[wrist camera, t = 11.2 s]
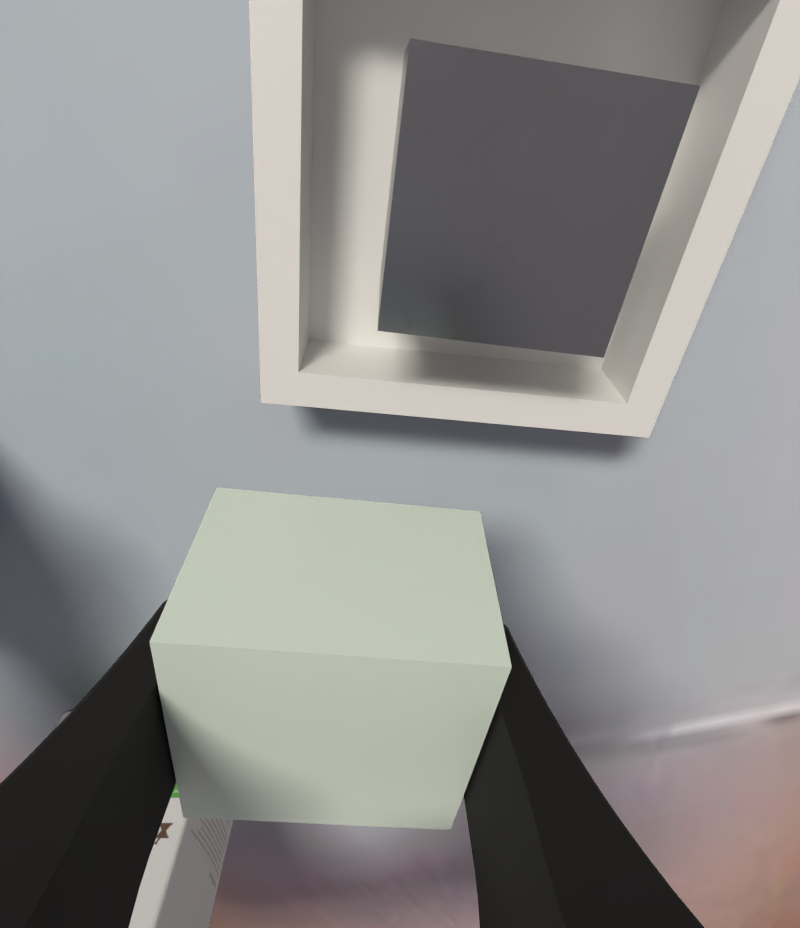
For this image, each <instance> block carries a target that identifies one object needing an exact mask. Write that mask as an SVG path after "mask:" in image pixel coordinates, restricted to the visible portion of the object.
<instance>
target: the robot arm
mask: <svg viewBox="0 0 800 928" xmlns="http://www.w3.org/2000/svg"><path fill="white" fill-rule="evenodd" d="M166 603H167V600H166V601H165V602H163V604H162V605H161V606H160V608H159V609H158V610H157V611H156V613H155V614H154V615H153V617H152V618H151V619H150V620H149V622H148V623H147V624H146V626H145V627H144V628H143V629H142V631H141V632H140V633H139V634H138V636H137V637H136V638H135V639H134V640H133V642H132V643H131V644H130V645H129V647H128V648H127V649H126V650H125V651H124V653H123V654H122V655H121V656H120V657H119V658H118V660H117V661H116V662H115V663H114V664H113V666H112V667H111V668H110V669H109V670H108V671H107V672H106V674H105V675H104V676H103V677H102V678H101V679H100V680H99V681H98V683H97V684H96V685H95V686H94V687H93V688H92V689H91V690H90V692H89V693H88V694H87V695H86V696H85V697H84V698H83V700H82V701H81V702H80V703H79V704H78V705H77V706H76V707H75V708H74V709H73V710H72V712H71V713H70V714H69V715H68V716H67V717H66V718H65V719H64V720H63V721H62V722H61V723H60V724H59V725H58V726H57V727H56V728H55V729H54V730H53V731H52V732H51V733H50V734H49V736H48V737H47V738H46V739H45V740H44V741H43V742H42V743H41V744H40V745H39V746H38V747H37V748H36V749H35V750H34V751H33V752H32V753H31V754H30V755H29V756H28V757H27V758H26V759H25V760H24V761H23V762H22V763H21V764H20V765H19V766H18V767H17V768H16V769H15V770H14V771H13V772H12V773H11V774H10V775H9V776H8V777H7V778H6V779H5V780H4V781H3V782H2V783H0V928H129V924H130V920H131V917H132V913H133V909H134V906H135V902H136V898H137V895H138V891H139V887H140V884H141V881H142V878H143V875H144V872H145V869H146V866H147V863H148V859H149V856H150V854H151V851H152V848H153V845H154V842H155V840H156V837H157V834H158V831H159V829H160V826H161V823H162V820H163V818H164V815H165V812H166V809H167V806H168V804H169V801H170V798H171V795H172V793H173V790H174V787H175V784H176V778H175V773H174V767H173V762H172V757H171V752H170V746H169V741H168V736H167V731H166V726H165V720H164V715H163V710H162V705H161V700H160V694H159V689H158V684H157V679H156V673H155V668H154V663H153V658H152V653H151V647H150V639H151V637H152V635H153V632H154V630H155V628H156V626H157V623H158V621H159V619H160V616H161V614H162V612H163V610H164V607H165V605H166ZM503 627H504V632H505V636H506V641H507V646H508V651H509V656H510V661H511V666H512V668H511V670H510V673H509V676H508V678H507V681H506V684H505V686H504V689H503V692H502V694H501V697H500V700H499V702H498V705H497V708H496V710H495V713H494V716H493V718H492V721H491V724H490V726H489V729H488V732H487V734H486V737H485V740H484V742H483V745H482V748H481V750H480V753H479V756H478V758H477V761H476V764H475V766H474V769H473V772H472V774H471V777H470V780H469V782H468V785H467V788H466V790H465V793H464V799H465V806H466V813H467V820H468V826H469V833H470V840H471V847H472V854H473V860H474V867H475V875H476V884H477V893H478V904H479V919H480V928H704V927H703V925H702V924H701V923H700V922H699V921H698V920H697V918H696V917H695V916H694V915H693V914H692V912H691V911H690V910H689V909H688V908H687V906H686V905H685V904H684V903H683V902H682V900H681V899H680V898H679V897H678V896H677V894H676V893H675V892H674V891H673V889H672V888H671V887H670V886H669V884H668V883H667V882H666V880H665V879H664V878H663V876H662V875H661V874H660V873H659V871H658V870H657V869H656V867H655V866H654V865H653V863H652V862H651V861H650V860H649V858H648V857H647V856H646V854H645V853H644V852H643V850H642V849H641V848H640V846H639V845H638V844H637V842H636V841H635V839H634V838H633V837H632V835H631V834H630V833H629V831H628V830H627V829H626V827H625V826H624V824H623V823H622V822H621V820H620V819H619V817H618V816H617V814H616V813H615V812H614V810H613V809H612V807H611V806H610V804H609V803H608V801H607V800H606V798H605V797H604V796H603V794H602V793H601V791H600V790H599V788H598V786H597V785H596V783H595V782H594V780H593V779H592V777H591V776H590V774H589V773H588V771H587V770H586V768H585V766H584V765H583V763H582V762H581V760H580V759H579V757H578V755H577V754H576V752H575V751H574V749H573V747H572V746H571V744H570V742H569V741H568V739H567V737H566V736H565V734H564V732H563V731H562V729H561V727H560V725H559V724H558V722H557V720H556V719H555V717H554V715H553V714H552V712H551V710H550V708H549V707H548V705H547V703H546V701H545V699H544V698H543V696H542V694H541V692H540V690H539V688H538V687H537V685H536V683H535V681H534V679H533V677H532V675H531V674H530V672H529V670H528V668H527V666H526V664H525V662H524V660H523V658H522V656H521V654H520V652H519V650H518V648H517V646H516V644H515V642H514V640H513V638H512V636H511V634H510V631H509V629H508V628H507V627H506V626H505V624H503Z"/></svg>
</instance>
